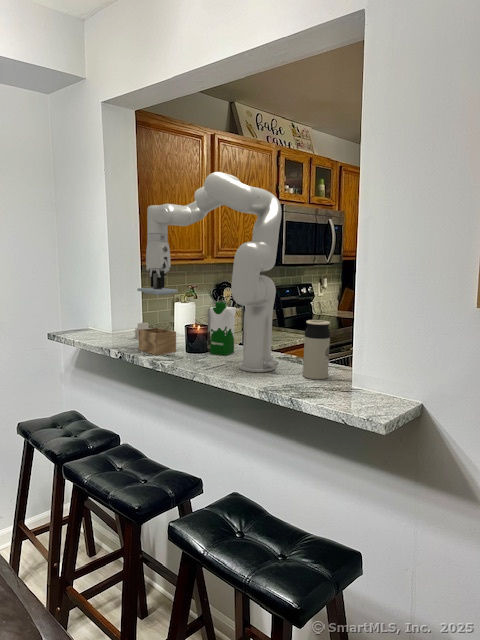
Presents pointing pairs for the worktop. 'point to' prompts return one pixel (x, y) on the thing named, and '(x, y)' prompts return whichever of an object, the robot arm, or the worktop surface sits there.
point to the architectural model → (140, 327)
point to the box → (157, 341)
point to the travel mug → (316, 350)
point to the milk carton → (222, 329)
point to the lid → (157, 290)
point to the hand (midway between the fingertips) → (157, 287)
